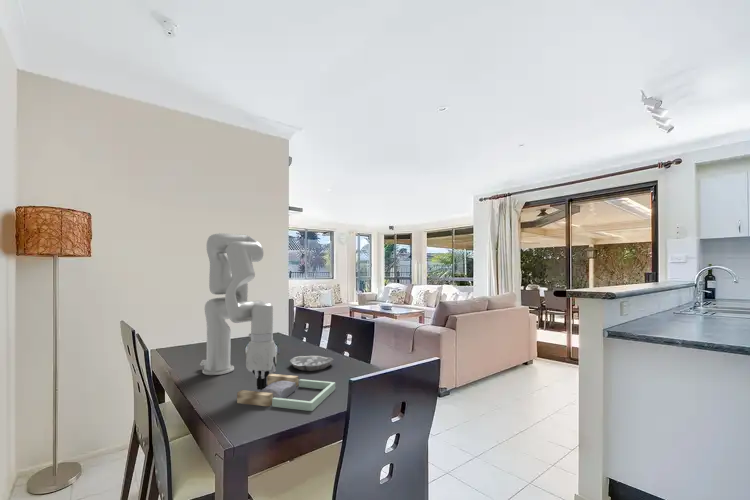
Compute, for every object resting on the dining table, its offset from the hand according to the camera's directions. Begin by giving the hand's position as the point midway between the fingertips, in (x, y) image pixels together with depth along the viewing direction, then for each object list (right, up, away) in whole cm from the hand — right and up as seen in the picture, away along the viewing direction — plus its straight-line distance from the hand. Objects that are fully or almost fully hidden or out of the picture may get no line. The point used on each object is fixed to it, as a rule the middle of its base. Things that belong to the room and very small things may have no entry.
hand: (261, 388), depth 130 cm
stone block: (+6, -2, -2) cm, 7 cm away
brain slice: (+12, -3, +32) cm, 34 cm away
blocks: (+3, -2, -1) cm, 4 cm away
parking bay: (+17, -1, -5) cm, 17 cm away
